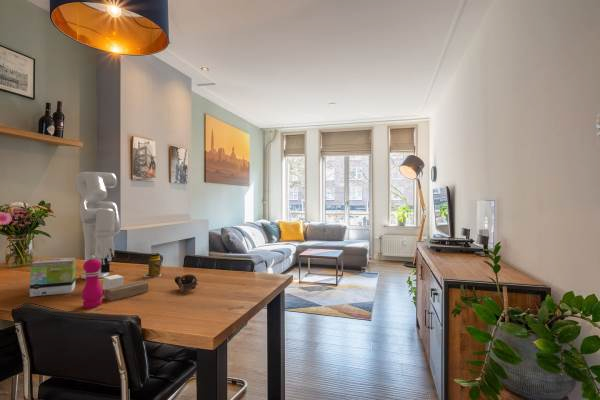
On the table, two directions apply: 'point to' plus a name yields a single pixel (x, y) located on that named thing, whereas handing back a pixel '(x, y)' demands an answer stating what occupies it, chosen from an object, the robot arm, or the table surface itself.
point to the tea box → (52, 276)
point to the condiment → (154, 265)
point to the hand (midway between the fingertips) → (105, 272)
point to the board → (125, 290)
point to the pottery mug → (186, 282)
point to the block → (112, 281)
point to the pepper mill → (92, 284)
